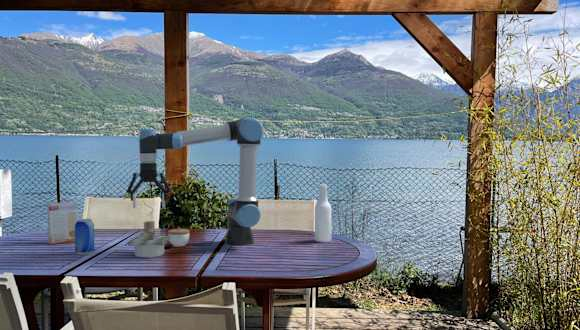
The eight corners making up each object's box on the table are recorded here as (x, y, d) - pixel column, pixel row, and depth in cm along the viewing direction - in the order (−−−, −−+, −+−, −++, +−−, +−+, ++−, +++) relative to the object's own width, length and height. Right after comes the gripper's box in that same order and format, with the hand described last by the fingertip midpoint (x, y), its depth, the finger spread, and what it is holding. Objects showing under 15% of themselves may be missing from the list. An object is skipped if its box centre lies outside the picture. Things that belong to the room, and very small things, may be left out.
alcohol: (312, 239, 288) (312, 184, 286) (327, 239, 291) (327, 183, 289) (318, 243, 280) (318, 185, 278) (333, 242, 282) (334, 185, 281)
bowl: (166, 251, 260) (166, 238, 259) (160, 257, 247) (160, 244, 246) (139, 251, 260) (139, 238, 259) (131, 257, 247) (131, 244, 246)
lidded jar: (184, 248, 267) (184, 229, 266) (164, 247, 269) (164, 228, 269) (193, 244, 277) (192, 225, 277) (173, 243, 280) (173, 225, 279)
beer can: (98, 252, 257) (97, 219, 257) (86, 256, 249) (85, 221, 249) (83, 251, 260) (83, 218, 259) (71, 254, 252) (70, 220, 251)
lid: (170, 238, 261) (169, 219, 260) (162, 244, 245) (162, 224, 244) (137, 238, 261) (136, 219, 260) (127, 245, 245) (127, 224, 244)
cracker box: (76, 240, 288) (75, 201, 287) (78, 242, 283) (78, 202, 282) (48, 243, 280) (47, 203, 279) (50, 244, 275) (49, 204, 274)
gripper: (176, 161, 255) (177, 206, 256) (123, 162, 255) (124, 206, 256) (173, 162, 247) (174, 208, 249) (118, 163, 247) (120, 208, 248)
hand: (149, 207), depth 252 cm, fingers open, 13 cm apart
